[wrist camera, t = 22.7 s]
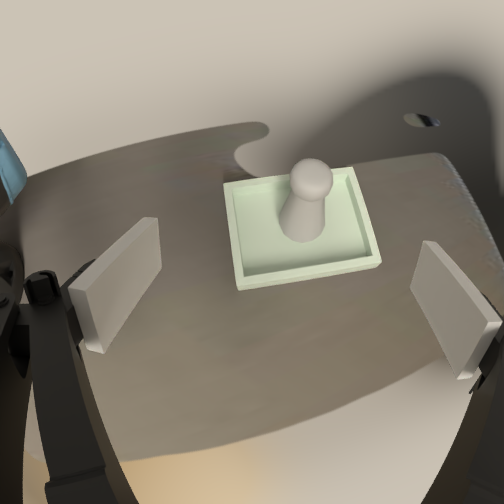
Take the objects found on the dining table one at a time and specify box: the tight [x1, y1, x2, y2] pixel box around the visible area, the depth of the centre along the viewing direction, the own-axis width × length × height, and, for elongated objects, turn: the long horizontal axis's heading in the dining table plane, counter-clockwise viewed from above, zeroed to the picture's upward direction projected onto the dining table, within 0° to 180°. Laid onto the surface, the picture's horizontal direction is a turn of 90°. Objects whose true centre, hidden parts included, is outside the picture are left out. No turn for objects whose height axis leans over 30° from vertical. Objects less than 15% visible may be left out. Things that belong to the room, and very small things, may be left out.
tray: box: [223, 167, 382, 291], centre depth 40 cm, size 18×14×2 cm
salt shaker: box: [279, 158, 333, 243], centre depth 34 cm, size 6×6×13 cm
